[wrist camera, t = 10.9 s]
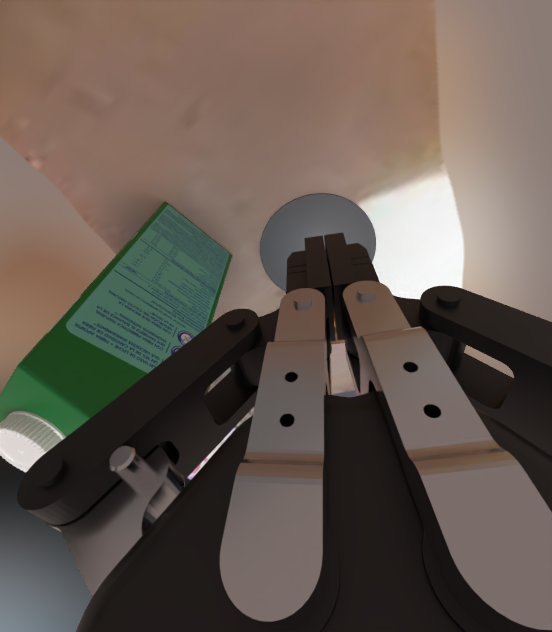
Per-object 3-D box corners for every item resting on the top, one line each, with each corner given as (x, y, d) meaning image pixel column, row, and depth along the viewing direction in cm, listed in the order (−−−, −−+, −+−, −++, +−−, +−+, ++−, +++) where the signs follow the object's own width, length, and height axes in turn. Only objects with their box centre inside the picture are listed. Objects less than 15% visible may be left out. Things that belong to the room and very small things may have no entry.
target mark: (271, 303, 40) (271, 304, 40) (248, 204, 32) (248, 205, 32) (374, 291, 38) (374, 292, 38) (377, 183, 30) (377, 184, 30)
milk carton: (165, 200, 32) (-22, 407, 13) (233, 255, 36) (165, 478, 17) (126, 255, 37) (-57, 471, 17) (190, 299, 40) (97, 516, 21)
